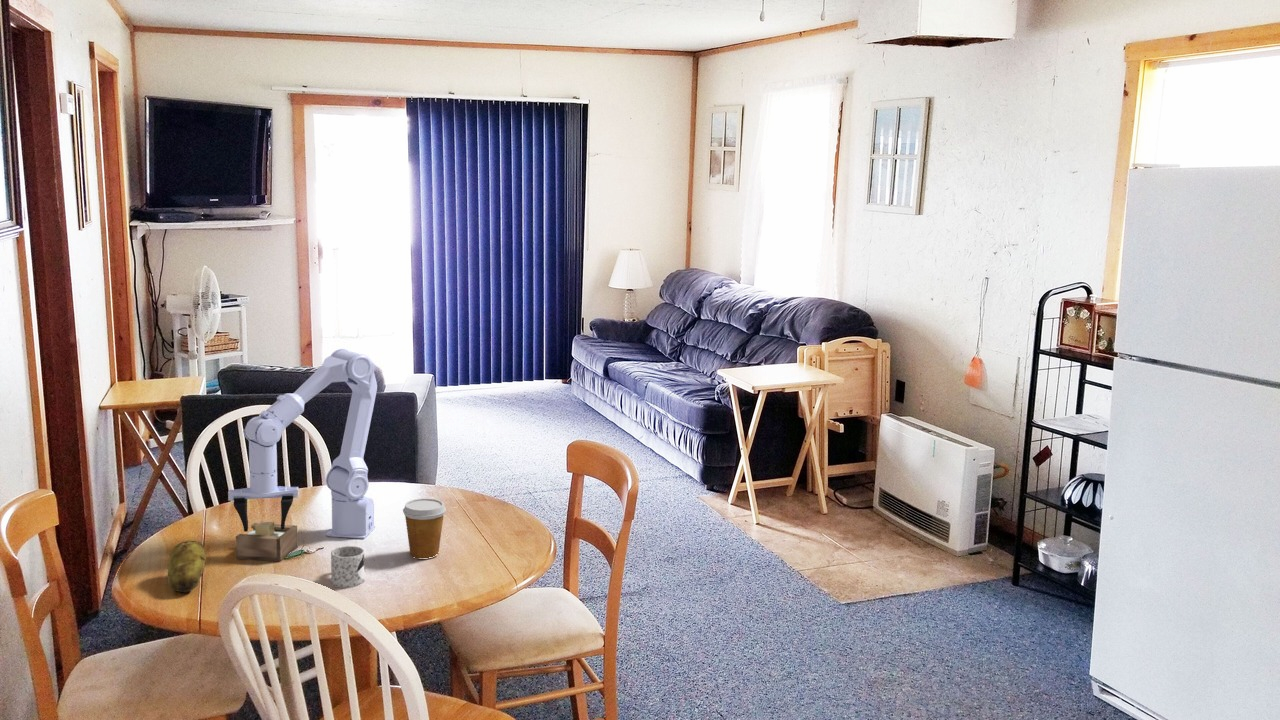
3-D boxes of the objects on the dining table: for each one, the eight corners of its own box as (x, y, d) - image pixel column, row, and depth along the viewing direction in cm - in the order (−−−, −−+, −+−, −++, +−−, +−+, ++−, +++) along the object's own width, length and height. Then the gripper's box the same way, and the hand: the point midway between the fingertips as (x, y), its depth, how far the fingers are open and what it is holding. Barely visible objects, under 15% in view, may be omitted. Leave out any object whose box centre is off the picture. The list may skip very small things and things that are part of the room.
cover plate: (288, 536, 219) (287, 520, 218) (276, 546, 213) (276, 529, 213) (254, 534, 220) (253, 518, 219) (241, 543, 214) (241, 527, 213)
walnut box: (297, 547, 221) (297, 525, 220) (280, 561, 212) (280, 539, 211) (255, 544, 222) (254, 522, 221) (236, 558, 213) (235, 536, 212)
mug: (365, 586, 201) (365, 556, 200) (332, 589, 199) (331, 559, 198) (361, 568, 210) (361, 539, 209) (329, 571, 208) (329, 542, 207)
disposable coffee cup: (430, 544, 226) (431, 495, 224) (453, 555, 220) (454, 505, 218) (394, 553, 220) (394, 503, 218) (417, 565, 213) (417, 513, 211)
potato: (152, 596, 192) (150, 558, 191) (178, 571, 205) (177, 535, 203) (195, 597, 193) (193, 559, 191) (218, 572, 205) (217, 536, 204)
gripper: (298, 464, 220) (299, 521, 222) (230, 467, 215) (231, 525, 217) (297, 473, 213) (298, 531, 215) (226, 475, 209) (228, 535, 211)
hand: (264, 529), depth 216 cm, fingers open, 7 cm apart
